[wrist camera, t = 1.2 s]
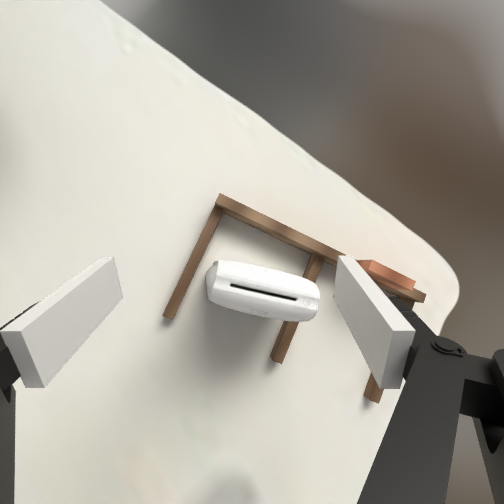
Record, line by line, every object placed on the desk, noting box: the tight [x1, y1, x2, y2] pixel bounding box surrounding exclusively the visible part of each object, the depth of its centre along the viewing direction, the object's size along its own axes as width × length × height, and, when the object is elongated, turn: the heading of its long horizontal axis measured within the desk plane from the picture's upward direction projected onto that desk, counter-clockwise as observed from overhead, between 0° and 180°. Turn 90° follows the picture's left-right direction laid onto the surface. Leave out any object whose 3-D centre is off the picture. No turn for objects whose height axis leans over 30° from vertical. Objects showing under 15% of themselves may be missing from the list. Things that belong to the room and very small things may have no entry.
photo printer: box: [206, 260, 320, 322], centre depth 27 cm, size 10×4×12 cm, turn 76°
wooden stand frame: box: [163, 193, 426, 404], centre depth 31 cm, size 29×15×6 cm, turn 65°
